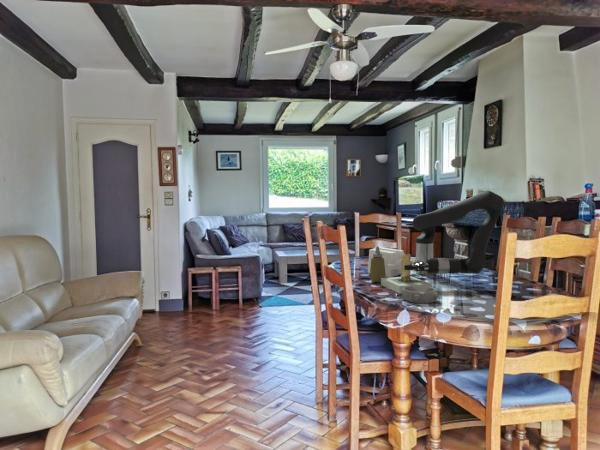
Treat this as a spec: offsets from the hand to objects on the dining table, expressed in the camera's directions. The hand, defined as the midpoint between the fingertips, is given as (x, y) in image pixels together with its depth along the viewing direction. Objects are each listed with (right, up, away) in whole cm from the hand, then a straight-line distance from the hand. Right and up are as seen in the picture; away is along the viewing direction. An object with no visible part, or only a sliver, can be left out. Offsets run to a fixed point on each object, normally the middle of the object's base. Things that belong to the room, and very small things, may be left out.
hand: (402, 266), depth 200 cm
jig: (+1, -10, +1) cm, 11 cm away
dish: (+2, -12, -23) cm, 26 cm away
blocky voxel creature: (+4, -9, +34) cm, 35 cm away
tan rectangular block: (+2, -10, +1) cm, 11 cm away
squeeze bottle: (-9, -10, +18) cm, 22 cm away
